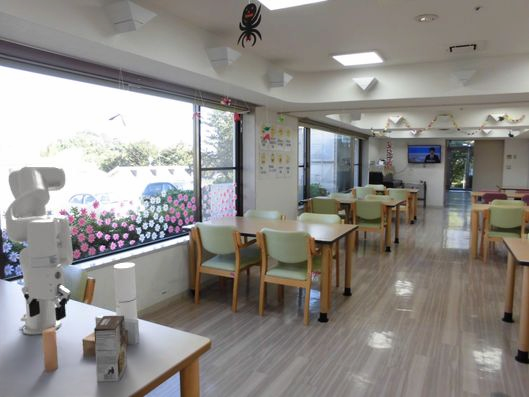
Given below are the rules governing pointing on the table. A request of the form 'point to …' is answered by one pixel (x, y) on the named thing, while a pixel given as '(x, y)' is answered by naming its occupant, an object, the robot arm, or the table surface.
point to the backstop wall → (130, 326)
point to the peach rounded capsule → (50, 349)
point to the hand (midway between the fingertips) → (47, 317)
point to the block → (90, 343)
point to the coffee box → (110, 348)
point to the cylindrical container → (125, 290)
